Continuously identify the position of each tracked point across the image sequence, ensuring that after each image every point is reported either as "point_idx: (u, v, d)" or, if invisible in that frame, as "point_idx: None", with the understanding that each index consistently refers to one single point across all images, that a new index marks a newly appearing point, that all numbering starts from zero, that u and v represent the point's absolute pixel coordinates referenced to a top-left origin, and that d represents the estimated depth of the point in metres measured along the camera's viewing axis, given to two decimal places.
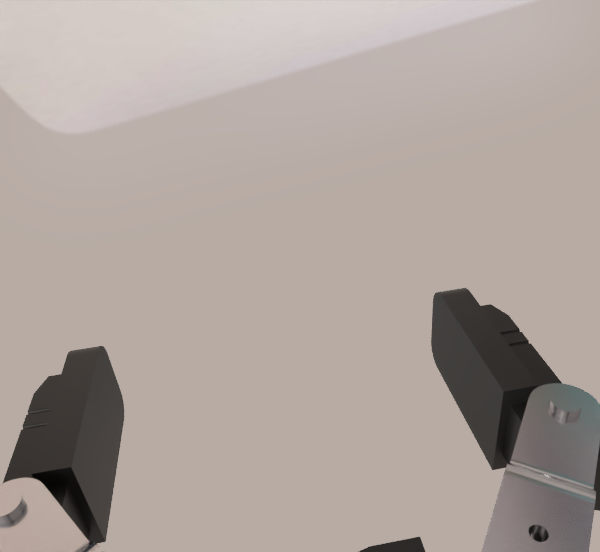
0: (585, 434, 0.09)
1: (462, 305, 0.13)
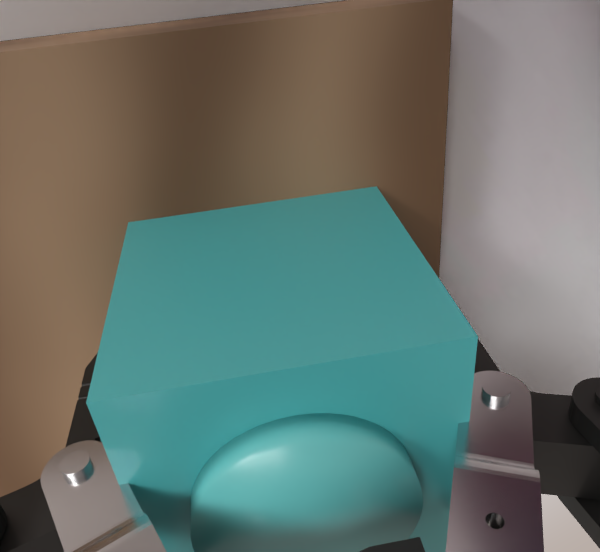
0: (511, 418, 0.10)
1: None
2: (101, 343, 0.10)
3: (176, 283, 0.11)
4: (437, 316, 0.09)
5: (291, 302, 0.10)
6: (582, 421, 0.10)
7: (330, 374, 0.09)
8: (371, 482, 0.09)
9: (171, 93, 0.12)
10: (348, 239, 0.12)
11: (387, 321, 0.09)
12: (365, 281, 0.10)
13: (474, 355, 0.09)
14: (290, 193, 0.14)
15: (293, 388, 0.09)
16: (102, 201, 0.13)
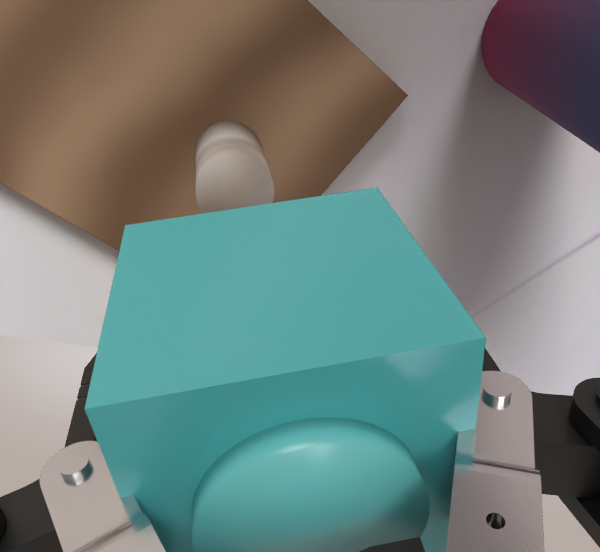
0: (512, 418, 0.10)
1: None
2: (99, 348, 0.09)
3: (175, 286, 0.11)
4: (443, 317, 0.09)
5: (293, 304, 0.10)
6: (583, 421, 0.10)
7: (335, 378, 0.09)
8: (377, 488, 0.09)
9: (287, 24, 0.23)
10: (350, 240, 0.12)
11: (392, 323, 0.09)
12: (368, 282, 0.10)
13: (482, 356, 0.09)
14: (288, 111, 0.25)
15: (297, 392, 0.09)
16: (214, 35, 0.23)
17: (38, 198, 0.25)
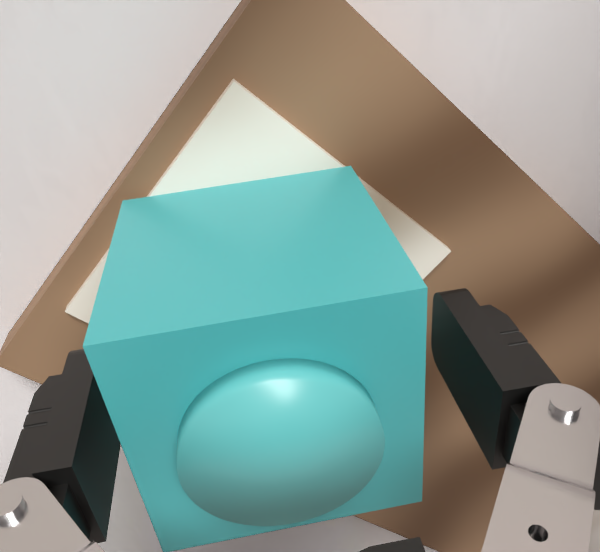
0: (584, 434, 0.09)
1: (462, 305, 0.13)
2: (96, 300, 0.11)
3: (164, 250, 0.12)
4: (393, 272, 0.11)
5: (266, 263, 0.11)
6: None
7: (297, 322, 0.10)
8: (336, 420, 0.11)
9: None
10: (321, 211, 0.13)
11: (349, 277, 0.11)
12: (333, 245, 0.12)
13: (425, 305, 0.10)
14: None
15: (264, 334, 0.10)
16: (584, 367, 0.21)
17: None
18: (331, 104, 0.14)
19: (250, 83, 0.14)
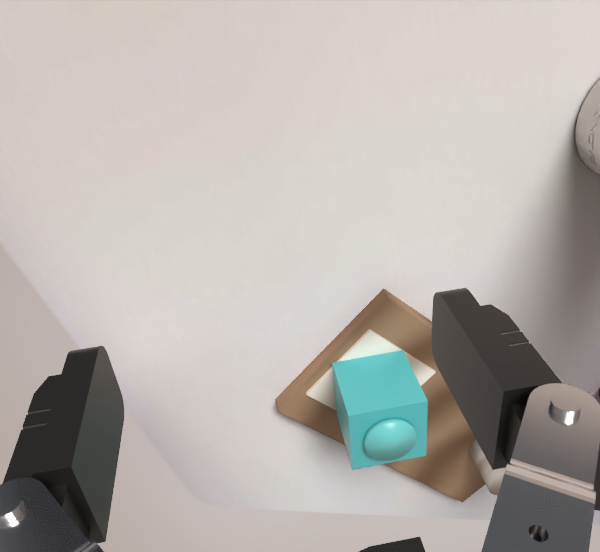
0: (585, 434, 0.09)
1: (462, 305, 0.13)
2: (344, 402, 0.43)
3: (355, 385, 0.44)
4: (419, 396, 0.43)
5: (385, 391, 0.43)
6: None
7: (396, 409, 0.42)
8: (405, 432, 0.43)
9: None
10: (397, 371, 0.45)
11: (408, 397, 0.43)
12: (402, 385, 0.44)
13: (427, 404, 0.42)
14: None
15: (389, 412, 0.42)
16: None
17: (397, 468, 0.55)
18: (398, 333, 0.47)
19: (374, 329, 0.46)
